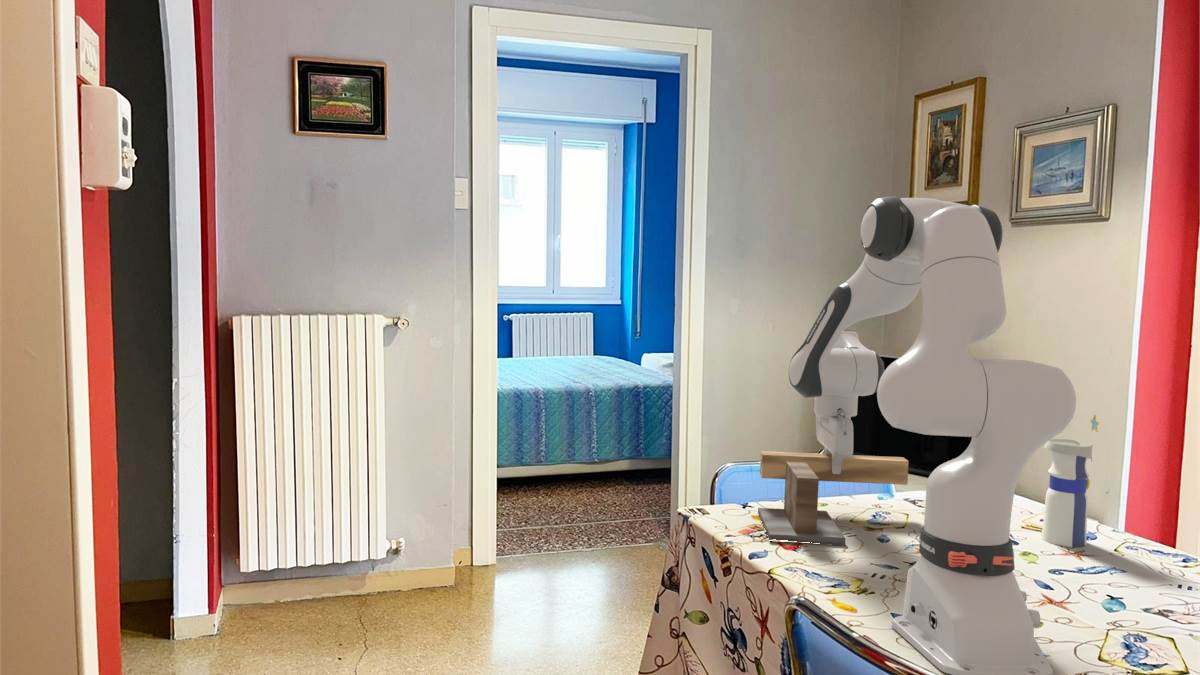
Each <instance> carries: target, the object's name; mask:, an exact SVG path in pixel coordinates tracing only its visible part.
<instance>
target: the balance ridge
mask: <svg viewBox="0 0 1200 675" xmlns="http://www.w3.org/2000/svg"><path fill="white" fill-rule="evenodd" d="M784 480H785V481H784V502H783V503H784V504H783V508H767V507H765V508H764V507H758V509H757V511H758V512H757V515H758V514H759V516H758V518H759V517H760V519H761V521H762V523H761V525H762V524H763V526H764V528H765V530H766V532H767V535H768V537H769V539H776V540H788V541H797V542H810V543H811V542H812V543H820V544H832V545H831V546H841V545H845V546H846V537H845V535H844V534H843V532H842V531H841V529H840V528H839V526H838V525H837V524H836V523H835V521H834V519H833V518H832V516H830V514H829V513H828V512H827V510H818V507H819V506H818V505H819V504H818V502H819V484H820V483H819V482H820V481H819V478H818V477H817V476H816V474H815V473H814V472H813V471H812V469H811V468H810V467H809V466H808V464H807V463H806V462H787V461H786V475H785V479H784ZM760 519H759V520H760ZM761 521H760V522H761ZM763 526H762V527H763ZM764 528H763V529H764ZM767 535H766V536H767ZM820 544H819V545H820Z"/></svg>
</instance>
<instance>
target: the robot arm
mask: <svg viewBox="0 0 1200 675" xmlns="http://www.w3.org/2000/svg"><path fill="white" fill-rule="evenodd" d="M1002 242H1003V225H1002V222H1001V220H1000V218H999V216H998V214H997V213H996V212H995V211H993V210H992V209H989V208H987V207H984V206H980V205H978V204H977V205H976V204H972V205H969V204H968V205H967V204H963V203H958V202H953V201H947V200H939V199H937V198H928V197H901V198H900V197H899V196H898V195H895V196H892V195H891V196H884V197H879V198H876V199H874V200H873V201H872V202H871V203H870V204H869V205H868V206H867V208H866V210H865V212H864V215H863V218H862V221H861V224H860V243H861V246H862V248H863V249H864V251H865V255H864V258H863V260H862V263H861V264H860V266H859V267H858V268H857V270H856V271H855V272H854V273H853V274H852V275H851V277H849V278H848V279H847V280H846V281H845V282H844V283H841V284H840V285H838V286H836V288H834V289H833V291H832V292H831V293H830V295H829V296H828V298H827V300H826V302H825V304H824V306H823V307H822V309H821V310H820V312H819V314H818V316H817V318H816V320H815V322H814V323H813V324H812V327H811V328H810V331H809V332H808V334H807V336H806V337H805V339H804V341H803V343H802V344H801V345H800V347H798V348H797V350H796V352H795V353H794V354H793V356H792V358H791V360H790V361H789V367H788V379H789V380H788V381H789V383H790V385H791V386H792V388H794V390H796V392H798V394H800V395H801V396H802V397H803V398H807V399H808V398H813V401H812V402H813V404H812V407H813V412H814V414H815V434H816V440H817V441H818V442H819V443H820V444H821V445H822V446H823V447H824V448H823V449H824V454H832V464H831V472H832V473H833V474H840V473H841V465H842V461H843V458H851V457H852V455H854V424H853V421H852V420H851V419H852V417H853V418H854V417H856V416H857V415H858V404H859V403H858V402H859V396H860V397H866V396H870V395H875V393H876V398H877V404H878V408H879V410H880V412H881V415H882V416H883V418H884V419H885V421H887V423H888V424H890V426H891V427H892V428H895V429H900V430H903V431H907V432H911V433H916V434H920V435H921V434H922V435H924V436H925V435H927V436H928V435H929V436H942V437H943V436H946V437H948V436H949V437H965V438H967V437H968V438H971V440H970V443H969V444H968V446H967V447H966V449H965V450H964V451H963V452H962V453H961V454H960V455H959V456H957V457H955V458H952V459H951V460H947V461H946V462H943V463H942V464H939V465H938V466H937V467H936V468H934V470H932V472H931V473H930V474H929V476H928V478H927V480H926V487H925V488H926V489H925V500H924V501H925V505H924V520H923V521H924V522H923V524H924V525H923V526H922V527H921V528H920V533H919V534H920V535H919V537H918V538H919V539H918V544H919V549H918V552H919V554H920V556H919V558H918V560H917V561H916V562H915V563H914V564H913V565H912V566H911V567H910V568H909V569H908V571H907V575H906V576H907V577H906V582H905V592H904V600H903V608H902V609H903V610H902V615H898V616H896V617H893V618H892V621H891V622H892V623H891V627H892V629H894V630H895V631H896V632H897V633H898V634H899V635H900V636H902V637H903V638H904V639H905V640H906V641H907V642H909V644H911V645H912V646H913V647H914V648H915V649H916V650H917V651H918V652H920V653H921V655H923V656H924V657H925V658H926V659H927V660H928V661H929V662H931V664H933V665H934V666H935V667H936V668H938V670H939V671H941V672H943V673H946V674H948V675H1054V671H1053V668H1052V667H1051V665H1050V663H1049V660H1047V658H1046V656H1045V654H1044V653H1043V650H1042V649H1041V647H1040V645H1039V644H1038V642H1037V640H1036V638H1035V631H1034V630H1035V629H1039V628H1040V626H1041V614H1040V612H1039V610H1037V609H1030V608H1028V606H1027V603H1026V602H1027V598H1028V597H1027V596H1028V594H1027V592H1026V591H1023V590H1021V588H1020V586H1019V583H1018V581H1017V578H1016V575H1015V574H1014V570H1015V559H1014V558H1015V550H1014V546H1013V541H1012V539H1011V537H1010V532H1011V530H1010V529H1011V519H1012V512H1013V505H1014V498H1015V497H1014V496H1015V493H1016V492H1015V490H1016V487H1017V484H1018V480H1019V479H1020V476H1021V474H1022V472H1023V470H1024V468H1025V467H1026V465H1027V464H1028V462H1029V460H1030V459H1031V458H1032V457H1033V455H1034V454H1036V452H1037V451H1038V450H1039V449H1040V448H1041V447H1042V446H1044V445H1045V444H1046V443H1047V441H1049V440H1050V439H1054V438H1055V437H1056V436H1058V435H1060V434H1062V433H1063V432H1064V431H1065V430H1066V428H1067V427H1068V426H1069V425H1070V423H1071V422H1072V420H1073V419H1074V418H1073V417H1074V415H1075V413H1076V408H1077V397H1076V390H1075V388H1074V385H1073V383H1072V381H1071V380H1070V378H1069V377H1068V375H1067V374H1066V373H1065V372H1064V371H1063V370H1062V369H1061V368H1059V367H1057V366H1052V365H1047V364H1046V363H1040V362H1034V361H1030V360H1026V359H1025V360H1024V359H1006V358H1005V359H1002V358H1001V359H999V358H977V357H972V356H971V355H970V352H969V346H972V345H973V344H977V343H979V342H981V341H983V340H986V339H988V338H989V337H991V336H992V335H994V334H995V333H996V332H997V331H999V329H1000V328H1001V327H1002V325H1004V324H1003V323H1004V322H1005V319H1006V316H1007V307H1006V306H1007V305H1006V298H1005V290H1004V284H1003V276H1002V268H1001V262H1000V258H999V257H1000V256H999V251H1000V249H1001V246H1002ZM920 291H921V307H922V308H921V310H922V311H921V312H922V313H921V325H920V329H919V333H918V334H917V336H916V339H915V341H914V342H913V344H912V345H911V347H909V348H908V350H907V351H906V352H905V353H903V355H901V356H900V357H899V358H897V359H895V360H894V361H893V362H891V363H890V364H889V365H888V366H887V367H886V369H885V362H884V361H883V359H882V357H881V356H880V355H879V354H878V353H877V352H876V351H874V350H873V349H872V350H871V349H869V348H868V347H866V346H865V345H863V343H862V342H860V338H859V334H858V333H857V332H856V331H854V330H851V329H847V328H848V327H850V326H853V325H854V324H856V323H859V322H861V321H865V320H867V319H872V318H875V317H880V316H884V315H890V314H894V313H896V312H898V311H901V310H904V309H905V308H906V307H908V306H909V305H910V304H911V303H912V302H913V301H914V300H915V298H916V297H917V295H918V294H919V293H920Z"/></svg>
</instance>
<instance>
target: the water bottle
mask: <svg viewBox="0 0 1200 675" xmlns="http://www.w3.org/2000/svg"><path fill="white" fill-rule="evenodd" d="M1089 422H1090V423H1091V431H1095V432H1096V433H1098V425H1099V424H1100V421H1098V420H1097V417H1096V414H1094V415H1093V418H1092V419H1090V421H1089ZM1093 447H1094V446H1093V444H1091V445H1090V446H1089V445H1088V446H1081V442H1079V441H1077V440H1074V439H1069V438H1052V439H1050V440H1049V441H1047V442H1046V443H1045V444H1044V445H1043V448H1044V449H1045V450H1047V451H1050V452H1051V458H1052V462H1051V466H1050V467H1049V469H1048V470H1047V472H1048V474H1049V486H1048V488H1047V490H1046V494H1045V502H1044V513H1043V514H1044V515H1043V522H1042V523H1043V524H1042V528H1041V529H1042V531H1041V539H1042V541H1044V542H1046V543H1049V544H1053V545H1057V546H1061V547H1062V546H1063V547H1068V548H1069V547H1070V548H1082V547H1083V548H1084V547H1085V546H1087V527H1088V526H1087V522H1088V508H1089V507H1088V505H1089V502H1088V501H1089V500H1088V494H1087V491H1088V490H1089V487H1090V484H1091V483H1090V479H1089V477H1090V474H1089V472H1088V471H1087V461H1088V459H1089V460H1091V462H1093Z"/></svg>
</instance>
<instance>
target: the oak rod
mask: <svg viewBox="0 0 1200 675" xmlns="http://www.w3.org/2000/svg"><path fill="white" fill-rule="evenodd" d="M786 461H787V462H806V463H807V464H808V466H809V467H810V468H811V469H812V471H813V472H814V473H815V474H816V476H817V477H818V478H819V482H839V483H862V484H879V485H883V484H884V485H898V486H899V485H902V486H904V485H905V486H907V485H908V483H909V482H908V480H909V463H910V462H909V460H908V459H906V458H905V457H903V456H902V457H901V456H881V455H880V456H879V455H877V456H876V455H860V454H858V455H857V454H855V455H854V454H853V455H852V457H851V458H843V461H842V465H841V473H840V474H833V473H832V472H831V464H832V454H825V453H811V452H794V451H793V452H791V451H771V450H770V451H767V450H765V451H763V450H761V451H760V465H759V475H760V477H761V478H762V479H773V480H774V479H775V480H785V475H786Z"/></svg>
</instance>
